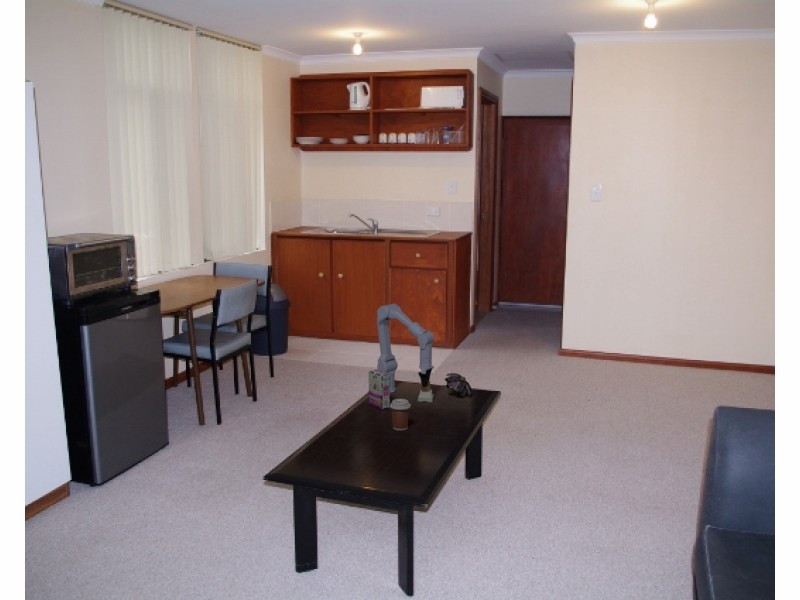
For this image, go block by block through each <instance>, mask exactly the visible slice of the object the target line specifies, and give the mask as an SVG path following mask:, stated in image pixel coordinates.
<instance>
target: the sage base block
mask: <svg viewBox="0 0 800 600" xmlns="http://www.w3.org/2000/svg"><path fill="white" fill-rule="evenodd" d="M433 398H435V394H434V393H432V397H431V398H427V397H420V393H419V395H418V396H417V402H422V401H427V403H433V400H434V399H433Z"/></svg>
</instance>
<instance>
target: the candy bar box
mask: <svg viewBox="0 0 800 600" xmlns="http://www.w3.org/2000/svg"><path fill="white" fill-rule="evenodd" d="M368 404H369V405H371V406H373V405H374V406H373V407H375V406H376V407H375V408H377V409H381V410H386V409H391V408H390V404H391V392H390V374H388V373H385V372H382V371H379V370H378V369H371V370H368ZM385 408H386V409H385Z"/></svg>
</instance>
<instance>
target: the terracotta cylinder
mask: <svg viewBox="0 0 800 600" xmlns="http://www.w3.org/2000/svg"><path fill="white" fill-rule="evenodd" d="M420 383H421V382H420ZM430 389H431V381H430V380H429V381H428V383H427V387H422V383H421V384H420V390H421V391H423V392H428V391H430Z"/></svg>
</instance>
